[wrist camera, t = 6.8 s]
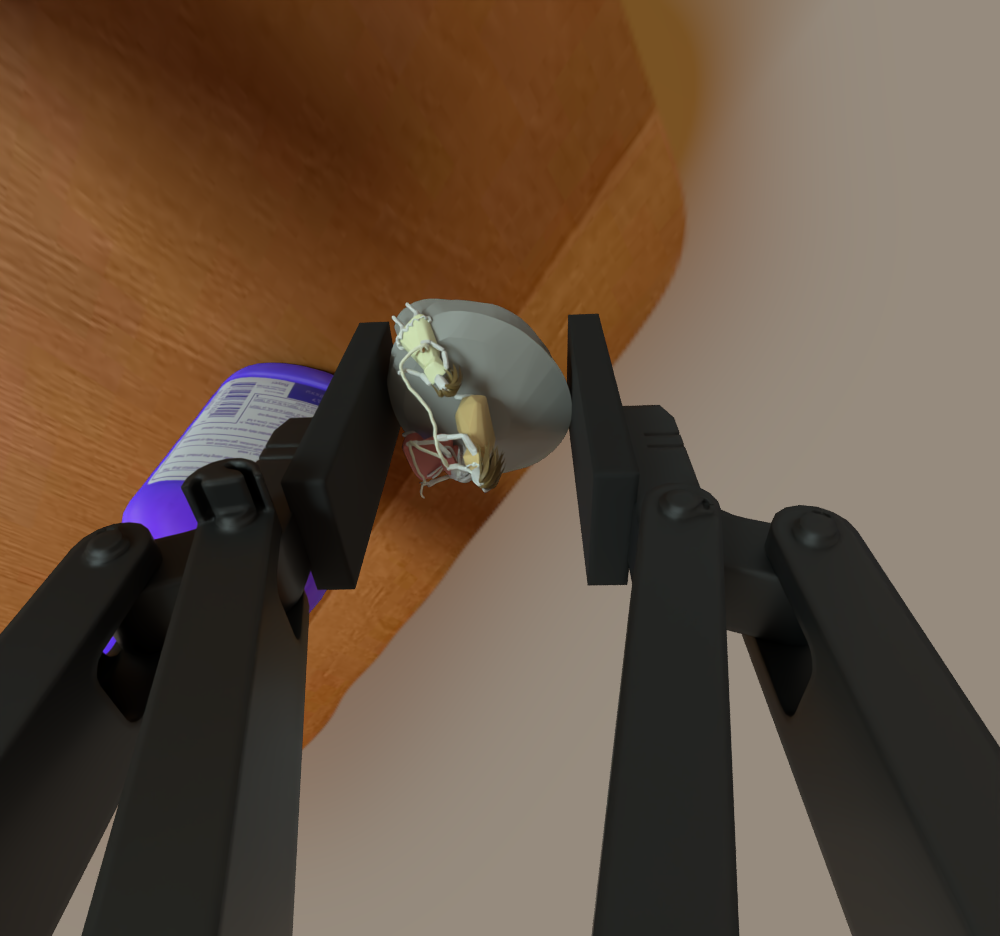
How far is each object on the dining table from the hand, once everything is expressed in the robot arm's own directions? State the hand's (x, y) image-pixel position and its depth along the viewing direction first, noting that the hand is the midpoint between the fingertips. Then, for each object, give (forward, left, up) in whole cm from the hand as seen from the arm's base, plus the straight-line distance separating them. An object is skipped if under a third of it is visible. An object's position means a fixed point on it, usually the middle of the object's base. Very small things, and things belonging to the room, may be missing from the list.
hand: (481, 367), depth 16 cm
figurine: (0, 0, 0) cm, 1 cm away
